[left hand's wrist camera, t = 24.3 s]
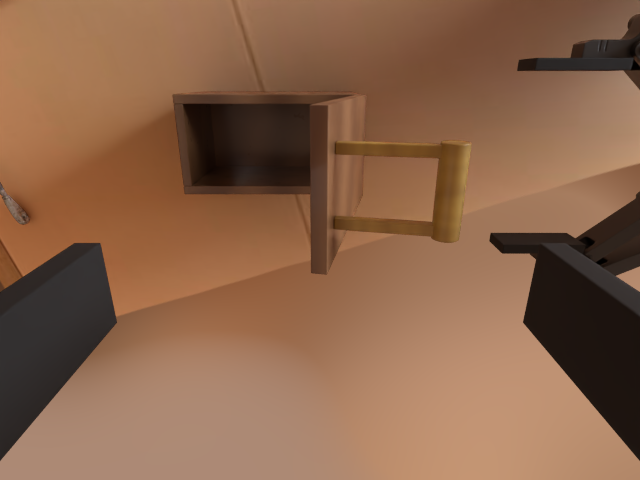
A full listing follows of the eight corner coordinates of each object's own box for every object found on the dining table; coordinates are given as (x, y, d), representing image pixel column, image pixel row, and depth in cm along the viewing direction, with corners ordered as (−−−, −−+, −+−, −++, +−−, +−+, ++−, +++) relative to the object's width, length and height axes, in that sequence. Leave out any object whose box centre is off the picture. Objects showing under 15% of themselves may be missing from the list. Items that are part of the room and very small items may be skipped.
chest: (211, 171, 51) (184, 194, 40) (204, 91, 47) (172, 94, 37) (349, 171, 51) (357, 194, 40) (351, 91, 47) (360, 94, 37)
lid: (310, 273, 24) (458, 287, 22) (309, 104, 20) (483, 106, 19) (352, 195, 40) (439, 200, 38) (355, 94, 37) (451, 95, 35)
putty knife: (27, 223, 53) (18, 227, 51) (-16, 167, 50) (-27, 170, 49) (33, 220, 53) (24, 224, 51) (-10, 164, 50) (-20, 167, 49)
